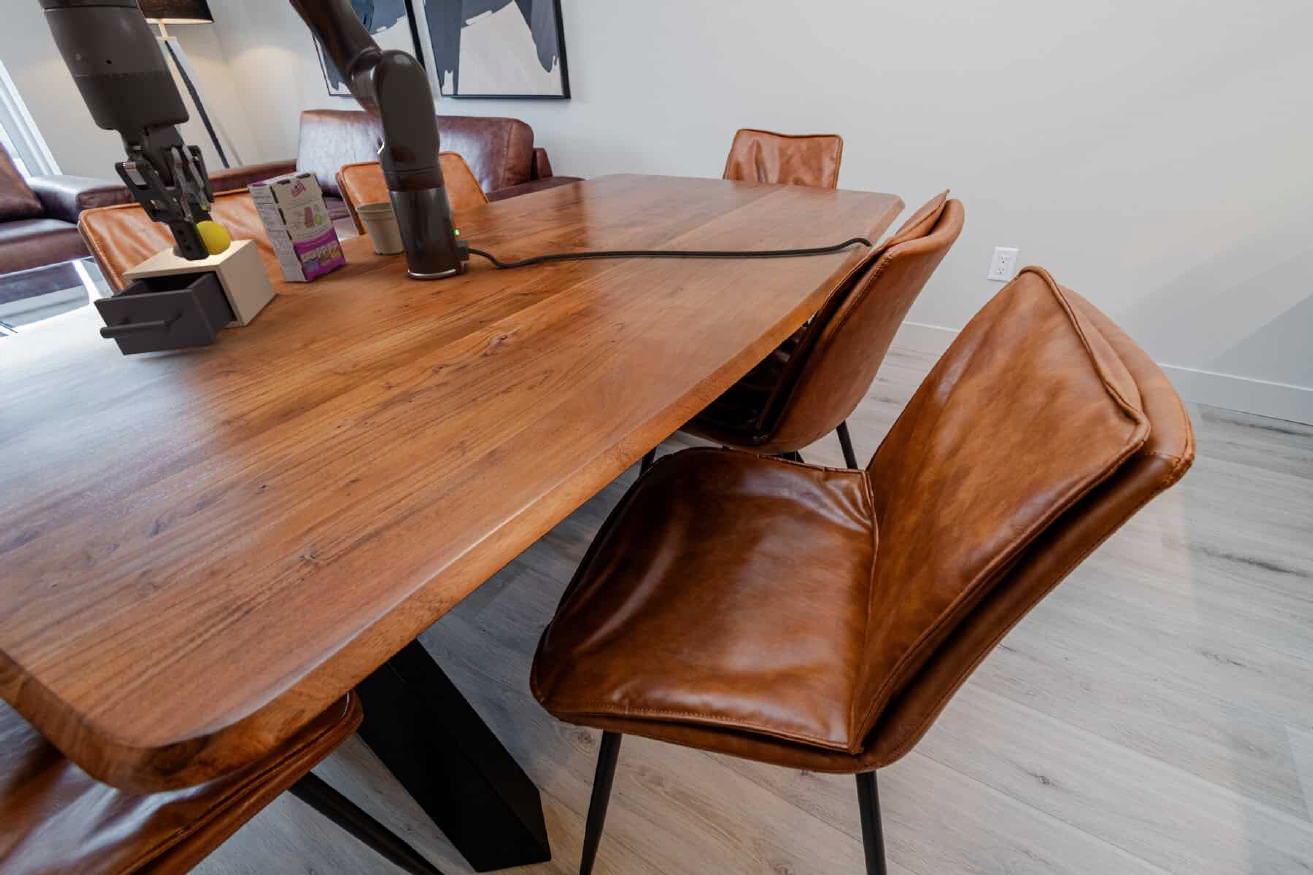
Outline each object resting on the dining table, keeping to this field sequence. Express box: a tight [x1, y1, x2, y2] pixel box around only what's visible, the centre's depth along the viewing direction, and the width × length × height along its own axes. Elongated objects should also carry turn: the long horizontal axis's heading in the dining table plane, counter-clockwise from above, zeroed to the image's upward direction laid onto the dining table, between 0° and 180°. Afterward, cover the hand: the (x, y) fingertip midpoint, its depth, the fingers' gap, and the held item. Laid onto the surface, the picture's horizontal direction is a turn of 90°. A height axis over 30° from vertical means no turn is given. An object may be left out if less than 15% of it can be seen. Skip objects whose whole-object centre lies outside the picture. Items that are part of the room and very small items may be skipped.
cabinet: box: [121, 238, 276, 329], centre depth 91 cm, size 15×12×9 cm
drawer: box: [92, 270, 235, 356], centre depth 81 cm, size 18×11×7 cm, turn 13°
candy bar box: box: [246, 171, 347, 283], centre depth 105 cm, size 11×5×16 cm, turn 168°
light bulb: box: [172, 220, 232, 258], centre depth 65 cm, size 3×6×4 cm, turn 104°
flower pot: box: [354, 200, 404, 255], centre depth 118 cm, size 9×9×9 cm
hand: (205, 253), depth 65 cm, fingers closed on light bulb, 3 cm apart
